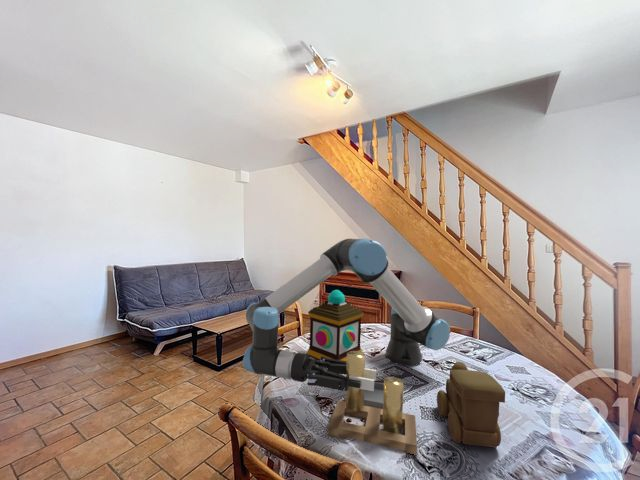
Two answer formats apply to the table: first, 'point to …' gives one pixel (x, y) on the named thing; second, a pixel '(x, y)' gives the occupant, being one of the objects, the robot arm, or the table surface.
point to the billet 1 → (357, 368)
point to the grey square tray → (374, 396)
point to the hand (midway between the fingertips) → (374, 380)
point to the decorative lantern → (334, 328)
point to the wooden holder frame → (373, 428)
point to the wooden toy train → (471, 406)
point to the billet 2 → (392, 405)
